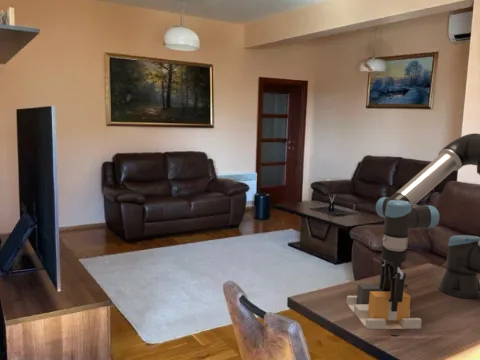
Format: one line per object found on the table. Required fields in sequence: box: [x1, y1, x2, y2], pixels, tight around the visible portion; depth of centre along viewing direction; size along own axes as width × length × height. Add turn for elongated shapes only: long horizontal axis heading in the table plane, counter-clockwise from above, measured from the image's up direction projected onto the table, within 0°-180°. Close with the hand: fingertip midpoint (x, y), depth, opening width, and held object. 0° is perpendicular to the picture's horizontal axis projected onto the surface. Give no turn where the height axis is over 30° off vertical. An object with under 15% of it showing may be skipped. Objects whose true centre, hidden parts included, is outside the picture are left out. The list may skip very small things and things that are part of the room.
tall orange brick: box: [368, 291, 412, 320], centre depth 145 cm, size 12×4×8 cm, turn 96°
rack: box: [346, 295, 423, 330], centre depth 151 cm, size 18×20×4 cm
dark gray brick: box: [356, 283, 383, 304], centre depth 156 cm, size 12×4×8 cm, turn 96°
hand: (388, 315), depth 145 cm, fingers closed on tall orange brick, 4 cm apart
